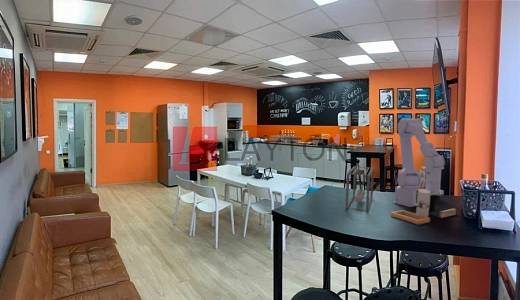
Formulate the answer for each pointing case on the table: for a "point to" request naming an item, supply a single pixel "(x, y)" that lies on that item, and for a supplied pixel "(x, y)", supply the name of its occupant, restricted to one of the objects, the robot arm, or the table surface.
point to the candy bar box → (423, 178)
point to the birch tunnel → (447, 213)
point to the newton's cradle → (360, 192)
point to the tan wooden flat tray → (410, 217)
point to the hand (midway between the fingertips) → (431, 211)
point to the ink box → (423, 202)
